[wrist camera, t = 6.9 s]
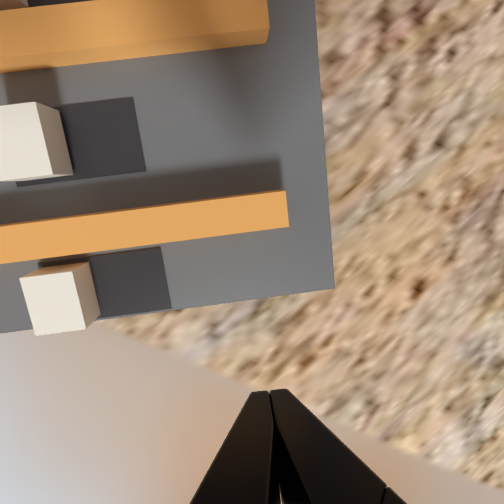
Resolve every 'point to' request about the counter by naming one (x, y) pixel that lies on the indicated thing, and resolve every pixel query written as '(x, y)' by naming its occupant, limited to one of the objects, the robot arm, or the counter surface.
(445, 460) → the counter surface
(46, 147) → the block
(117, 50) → the orange bar
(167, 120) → the breaker panel
